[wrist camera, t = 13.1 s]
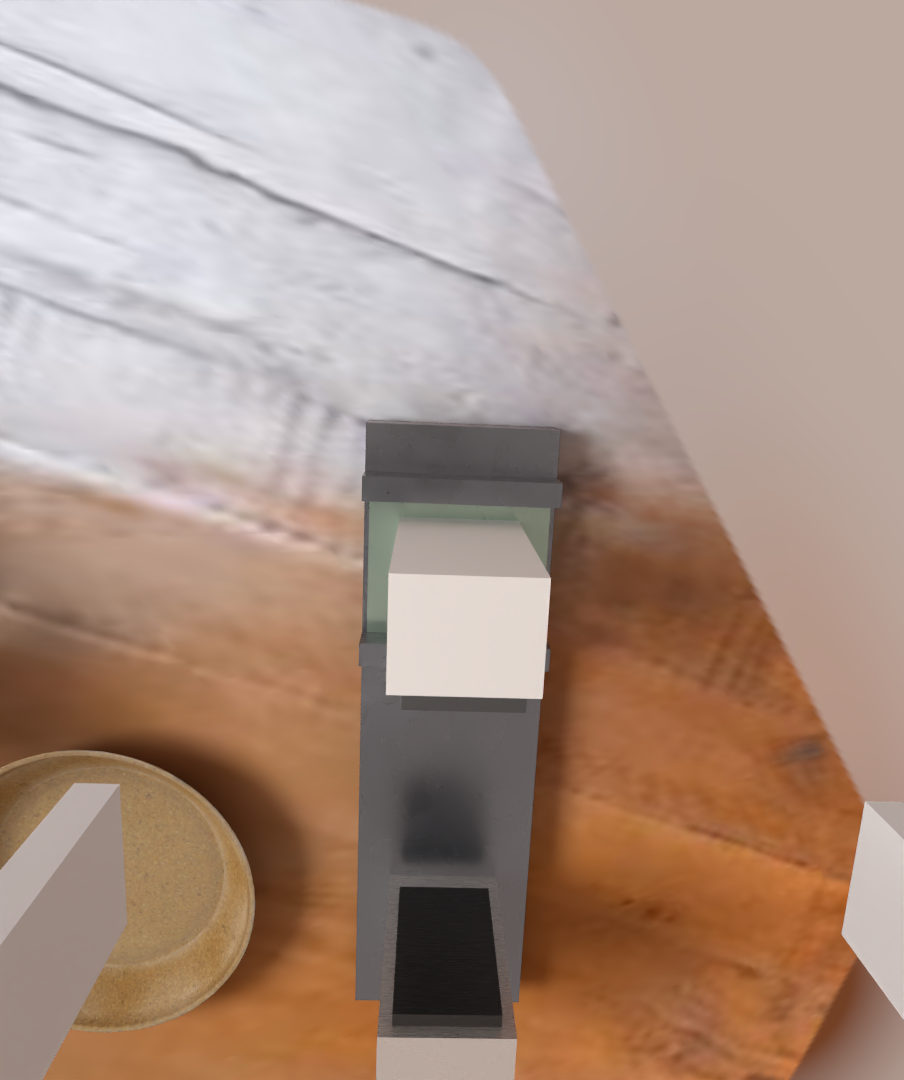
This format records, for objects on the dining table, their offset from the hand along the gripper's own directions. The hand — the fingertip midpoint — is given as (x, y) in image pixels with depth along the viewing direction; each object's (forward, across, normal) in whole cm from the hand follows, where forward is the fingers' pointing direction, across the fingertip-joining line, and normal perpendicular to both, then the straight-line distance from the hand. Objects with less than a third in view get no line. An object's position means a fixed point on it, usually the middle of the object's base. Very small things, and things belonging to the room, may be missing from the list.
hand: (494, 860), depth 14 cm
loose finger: (+20, 0, 0) cm, 20 cm away
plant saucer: (+22, -16, -16) cm, 31 cm away
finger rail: (+22, 0, -8) cm, 23 cm away
